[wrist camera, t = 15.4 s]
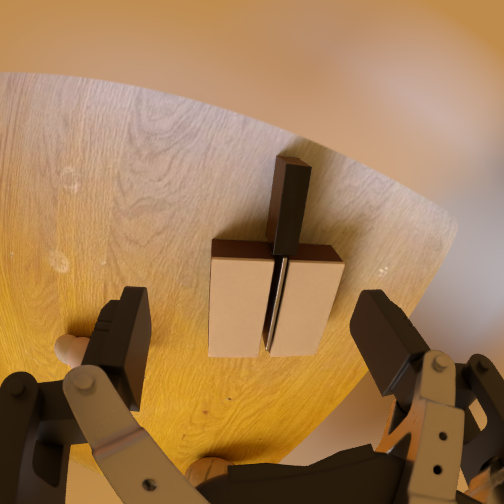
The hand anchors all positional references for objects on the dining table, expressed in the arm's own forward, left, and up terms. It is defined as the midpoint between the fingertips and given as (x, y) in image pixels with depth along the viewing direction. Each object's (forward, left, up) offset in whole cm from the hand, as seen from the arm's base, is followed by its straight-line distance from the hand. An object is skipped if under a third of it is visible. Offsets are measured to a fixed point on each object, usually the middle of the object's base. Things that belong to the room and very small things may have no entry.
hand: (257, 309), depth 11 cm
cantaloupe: (+68, 0, -21) cm, 72 cm away
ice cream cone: (+25, -17, -22) cm, 38 cm away
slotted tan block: (+14, +6, -21) cm, 26 cm away
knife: (+9, +6, -21) cm, 24 cm away
